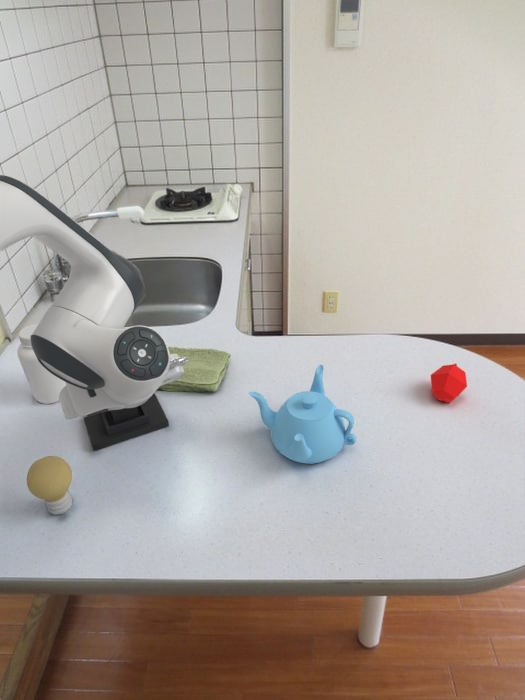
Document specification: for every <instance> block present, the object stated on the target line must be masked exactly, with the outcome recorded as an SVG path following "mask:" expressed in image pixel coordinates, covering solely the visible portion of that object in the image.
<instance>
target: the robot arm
mask: <svg viewBox="0 0 525 700" xmlns="http://www.w3.org/2000/svg"><path fill="white" fill-rule="evenodd" d="M31 237H32V238H34V239H35V240H37V241H38V242H40V243H41V244H42V245H44V246H45V247H46V248H48V249H49V250H51V251H52V252H54V253H55V254H56V255H58V256H59V257H61V258H62V259H64V260H65V261H66V262H68V263H69V265H70V273H69V277H68V278H67V281H65V283H64V285H63V287H62V288H61V290H60V291H59V293H58V294H57V296H56V297H55V299H54V300H53V302H52V303H51V305H50V306H49V307H48V308H47V310H46V311H45V313H44V314H43V316H42V318H41V319H40V321H39V322H38V323H37V324H38V325H37V327H36V329H35V330H34V332H33V334H32V335H31V345H32V348H33V351H34V353H35V355H36V357H37V359H38V361H39V362H40V364H41V365H42V366H43V367H44V368H45V369H46V370H48V371H49V372H50V373H52V374H53V375H55V376H56V377H58V378H59V379H61V380H63V381H65V382H66V386H65V387H63V389H62V390H61V392H60V394H59V401H58V403H59V405H60V409H61V412H62V413H63V416H64V418H65V419H66V421H67V420H68V421H69V420H73V419H76V418H80V419H84V417H87V416H92V415H95V414H98V413H102V412H106V411H109V410H119V409H124V408H134V407H137V406H140V405H142V404H143V403H145V402H146V401H147V400H148V399H149V398H150V397H151V396H152V395H153V394H154V393H155V392H156V391H157V390H159V389H158V388H159V387H160V386H162V385H165V384H167V383H170V382H173V381H175V380H178V379H180V378H181V377H182V376H183V375H184V369H183V365H185V364H186V363H187V362H188V358H187V357H183V358H179V356H178V355H177V354H171V355H170V352H169V348H168V347H169V346H168V344H167V341H166V340H165V338H164V337H163V336H162V335H161V334H160V332H158V331H157V330H155V329H153V328H151V327H149V326H146V325H131V326H127V327H125V326H126V325H127V322H128V320H129V319H130V317H131V316H132V315H133V314H134V313H135V311H136V310H137V309H138V307H139V306H140V304H141V303H142V302H143V300H144V298H145V297H146V286H145V282H144V281H145V280H144V278H143V275H142V273H141V270H140V268H138V266H137V265H135V264H134V263H133V262H132V261H131V260H129V259H127V258H126V257H125V256H122V255H121V254H120V253H118V252H116V251H115V250H114V249H112V248H111V247H108V246H107V245H106V244H104V243H103V242H102V241H101V240H99V239H98V238H97V237H96V236H95V235H93V234H92V233H91V232H90V231H88V230H87V229H86V228H84V227H83V226H82V225H81V224H80V223H78V222H77V221H76V220H75V219H74V218H73V217H71V216H70V215H69V214H67V213H66V212H65V211H63V210H62V209H61V208H60V207H58V206H57V205H56V204H55V203H54V202H53V201H51V200H50V199H49V198H47V197H46V196H44V195H43V194H42V193H40V192H39V191H38V190H36V189H34V188H33V187H31V186H30V185H28V184H26V183H25V182H23V181H21V180H18V179H16V178H14V177H11V176H9V175H3V174H0V253H2V252H4V251H5V250H7V248H10V247H11V246H13V245H14V244H16V243H18V242H20V241H22V240H25V239H27V238H31Z"/></svg>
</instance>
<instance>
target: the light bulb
mask: <svg viewBox="0 0 525 700" xmlns="http://www.w3.org/2000/svg"><path fill="white" fill-rule="evenodd" d="M72 480H73V472H72V469H71V466H70V465H69V463H68V462H67V461H66V460H65V459H64V458H62V457H61V456H58V455H49V456H48V455H47V456H43V457H41V458H38V459H37V460H35V461H34V462H33V463H32V464H31V465H30V467H29V468H28V471H27V473H26V487H27V488H28V490H29V492H30V493H31V494H32V495H33V496H34V497H36V498H37V499H40V500H42V501H44V504H45V506H46V508H47V511H48V512H49V513H50V514H52V515H55V516H57V515H62V514H64V513H66V512H68V511H69V510H70V509H71V507H72V505H73V499H72V496H71V493H70V490H69V488H70V486H71V484H72Z"/></svg>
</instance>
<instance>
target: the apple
mask: <svg viewBox="0 0 525 700" xmlns="http://www.w3.org/2000/svg"><path fill="white" fill-rule="evenodd" d="M430 384H431V392H432V394H433V396H434V398H435V400H438V401H441V402H444V403H447V404H451V403H452V402H453V401H455V400H456V399H457V398H458V397H459V396H460V395H461V394H462V393H463V392H464V390H465V389H466V388H467V387H468V381H467V374H466V371H464V370H463V369H462V368H461V367H460V366H458V363H453V364H445V365H441V367H439V368H438V369H436V370H435V371H434V372H432V373H431V374H430Z"/></svg>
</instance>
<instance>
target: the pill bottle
mask: <svg viewBox="0 0 525 700" xmlns="http://www.w3.org/2000/svg"><path fill="white" fill-rule="evenodd" d="M38 324H39V323H34V324H28V325H26V326H25V327H22V329H20V330H19V331H18V335H17V336H18V340H19V342H20V344H19V346H18V347H17V352H16V353H17V357H18V360H19V363H20V365H21V367H22V370H23V373H24V376H25V378H26V380H27V381H26V382H27V383H28V386H29V388H30V391H31V394H32V396H33V397H34V399H35V401H37V402H38V403H40V404H45V405H46V404H47V405H48V404H55V403H59V394H60V392H61V390H62V389H63V387H65V386H66V382H65V381H63V380H61V379H59V378H58V377H56V376H55V375H53V374H52V373H50V372H49V371H48V370H46V369H45V368H44V367H43V366H42V365H41V364H40V362H39V361H38V359H37V357H36V355H35V353H34V351H33V348H32V345H31V335H32V334H33V332H34V330H35V329H36V327H37V325H38Z"/></svg>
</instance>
